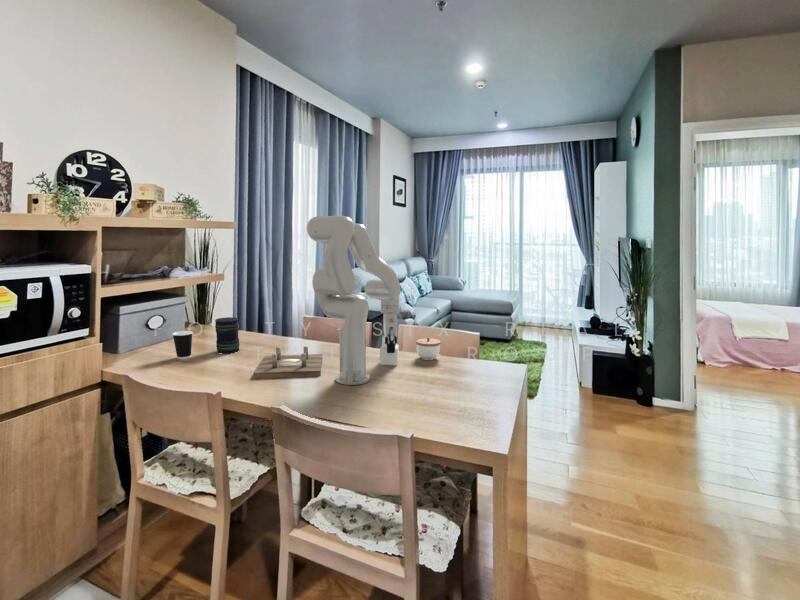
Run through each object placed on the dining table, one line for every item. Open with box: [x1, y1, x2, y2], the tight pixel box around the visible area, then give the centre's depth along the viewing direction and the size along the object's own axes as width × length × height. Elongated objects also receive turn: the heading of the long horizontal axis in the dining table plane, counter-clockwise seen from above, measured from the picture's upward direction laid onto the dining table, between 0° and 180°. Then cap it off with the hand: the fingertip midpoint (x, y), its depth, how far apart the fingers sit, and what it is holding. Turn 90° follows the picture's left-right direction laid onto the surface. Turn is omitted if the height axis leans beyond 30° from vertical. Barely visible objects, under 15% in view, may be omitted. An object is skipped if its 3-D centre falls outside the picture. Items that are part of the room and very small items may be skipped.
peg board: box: [253, 345, 323, 379], centre depth 168 cm, size 24×24×7 cm
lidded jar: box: [415, 336, 442, 361], centre depth 184 cm, size 11×11×9 cm
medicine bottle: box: [379, 334, 400, 366], centre depth 176 cm, size 7×7×12 cm
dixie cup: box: [172, 330, 194, 360], centre depth 181 cm, size 8×8×11 cm
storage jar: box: [214, 316, 240, 355], centre depth 192 cm, size 10×10×15 cm
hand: (389, 349), depth 176 cm, fingers closed on medicine bottle, 8 cm apart
